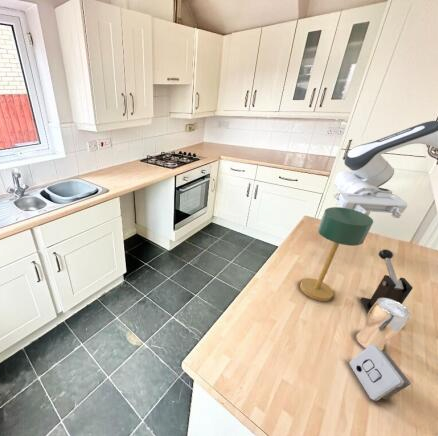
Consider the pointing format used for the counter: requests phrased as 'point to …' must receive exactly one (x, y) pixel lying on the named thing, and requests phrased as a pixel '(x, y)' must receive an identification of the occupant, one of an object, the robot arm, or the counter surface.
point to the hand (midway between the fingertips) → (382, 215)
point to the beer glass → (383, 322)
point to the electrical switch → (378, 373)
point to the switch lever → (391, 268)
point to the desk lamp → (336, 244)
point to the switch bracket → (387, 292)
